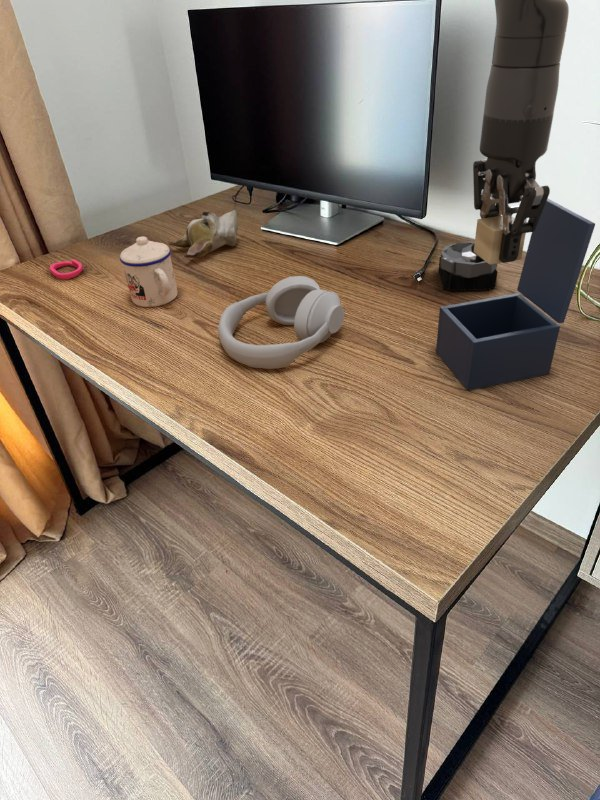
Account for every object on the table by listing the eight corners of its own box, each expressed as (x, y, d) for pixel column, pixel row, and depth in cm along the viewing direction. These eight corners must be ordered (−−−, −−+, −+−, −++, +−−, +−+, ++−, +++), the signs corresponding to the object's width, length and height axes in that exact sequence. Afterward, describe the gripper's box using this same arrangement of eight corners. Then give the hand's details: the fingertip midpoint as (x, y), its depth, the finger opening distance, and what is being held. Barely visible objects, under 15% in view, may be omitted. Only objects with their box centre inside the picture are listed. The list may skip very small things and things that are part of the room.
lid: (589, 224, 70) (595, 223, 71) (540, 197, 79) (546, 197, 79) (558, 323, 78) (564, 323, 78) (516, 290, 87) (521, 289, 87)
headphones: (303, 296, 106) (207, 346, 99) (295, 257, 101) (193, 307, 94) (367, 337, 93) (261, 396, 87) (361, 294, 88) (249, 355, 82)
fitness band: (89, 273, 122) (87, 266, 121) (62, 282, 119) (60, 275, 118) (72, 262, 127) (70, 256, 126) (46, 271, 124) (44, 264, 123)
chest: (467, 390, 81) (473, 342, 77) (435, 352, 90) (439, 306, 85) (549, 374, 83) (560, 326, 79) (510, 337, 92) (518, 292, 87)
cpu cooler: (493, 239, 109) (505, 262, 100) (489, 268, 112) (500, 292, 104) (436, 241, 109) (443, 264, 101) (434, 270, 113) (441, 294, 105)
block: (503, 246, 78) (508, 214, 76) (521, 259, 75) (527, 225, 72) (473, 251, 77) (477, 219, 75) (489, 264, 74) (494, 230, 71)
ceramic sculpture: (245, 208, 121) (178, 230, 116) (252, 248, 127) (188, 270, 121) (223, 196, 129) (160, 216, 124) (231, 234, 134) (170, 254, 129)
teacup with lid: (123, 296, 112) (107, 237, 105) (166, 282, 116) (154, 224, 109) (149, 319, 104) (134, 257, 97) (194, 303, 108) (183, 242, 101)
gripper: (588, 117, 61) (555, 271, 71) (515, 95, 72) (496, 230, 82) (522, 126, 60) (498, 281, 70) (459, 102, 71) (446, 238, 81)
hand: (497, 253), depth 76 cm, fingers closed on block, 4 cm apart
